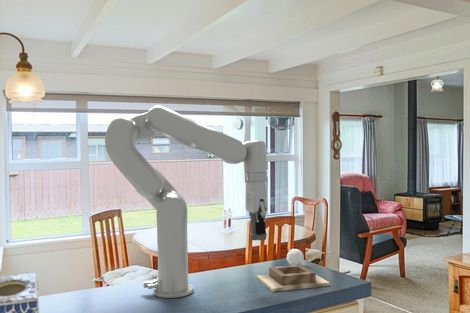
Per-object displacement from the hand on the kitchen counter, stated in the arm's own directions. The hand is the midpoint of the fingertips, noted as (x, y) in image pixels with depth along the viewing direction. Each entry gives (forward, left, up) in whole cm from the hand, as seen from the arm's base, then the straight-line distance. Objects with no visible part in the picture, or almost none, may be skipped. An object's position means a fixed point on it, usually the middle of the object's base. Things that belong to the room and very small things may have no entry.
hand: (258, 232), depth 142 cm
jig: (+12, +1, -18) cm, 21 cm away
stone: (0, 0, -3) cm, 3 cm away
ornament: (+22, +21, -18) cm, 35 cm away
